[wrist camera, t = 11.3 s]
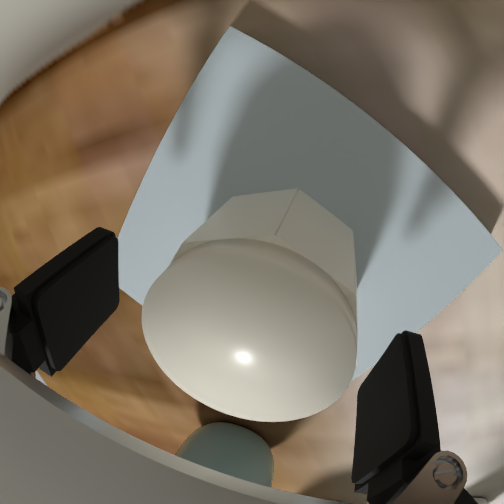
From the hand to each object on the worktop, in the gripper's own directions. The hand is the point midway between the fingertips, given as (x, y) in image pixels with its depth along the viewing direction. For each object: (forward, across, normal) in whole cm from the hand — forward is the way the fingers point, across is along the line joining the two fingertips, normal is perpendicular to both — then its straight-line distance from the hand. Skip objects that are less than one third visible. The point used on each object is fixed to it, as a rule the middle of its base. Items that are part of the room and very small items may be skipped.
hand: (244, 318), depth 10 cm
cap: (+4, 0, 0) cm, 4 cm away
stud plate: (+6, 0, 0) cm, 6 cm away
